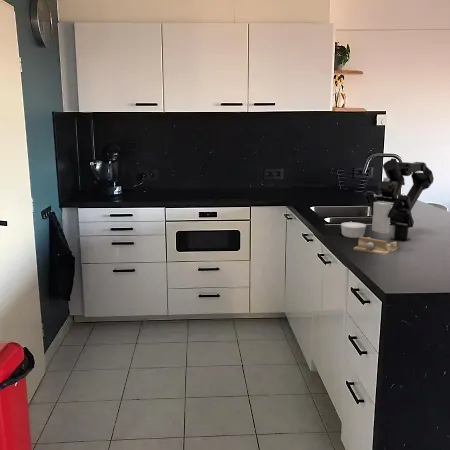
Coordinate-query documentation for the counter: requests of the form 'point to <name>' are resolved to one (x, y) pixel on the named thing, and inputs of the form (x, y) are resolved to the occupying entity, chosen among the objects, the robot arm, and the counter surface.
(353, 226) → the ramekin
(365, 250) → the cradle
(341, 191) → the counter surface
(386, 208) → the skincare box
